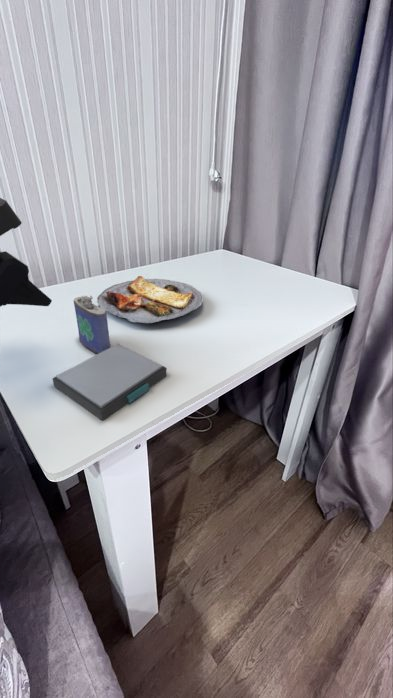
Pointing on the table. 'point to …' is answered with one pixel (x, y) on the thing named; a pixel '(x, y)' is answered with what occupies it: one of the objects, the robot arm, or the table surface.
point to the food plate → (150, 299)
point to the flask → (92, 325)
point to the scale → (109, 380)
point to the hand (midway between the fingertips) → (38, 293)
